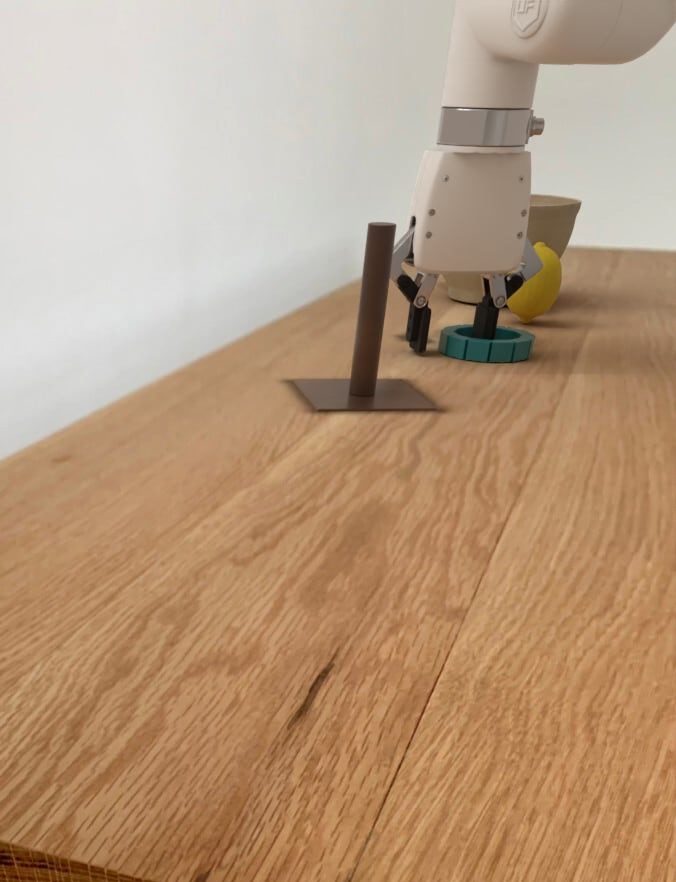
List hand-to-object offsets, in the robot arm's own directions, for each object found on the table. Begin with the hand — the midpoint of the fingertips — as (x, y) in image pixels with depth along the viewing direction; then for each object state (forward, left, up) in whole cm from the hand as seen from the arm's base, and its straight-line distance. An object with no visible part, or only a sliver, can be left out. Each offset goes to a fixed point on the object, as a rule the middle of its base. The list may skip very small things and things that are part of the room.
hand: (448, 347), depth 105 cm
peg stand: (+14, +21, 0) cm, 25 cm away
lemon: (-13, -14, -1) cm, 19 cm away
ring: (-4, 0, 0) cm, 4 cm away
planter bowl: (-14, -28, -1) cm, 31 cm away
